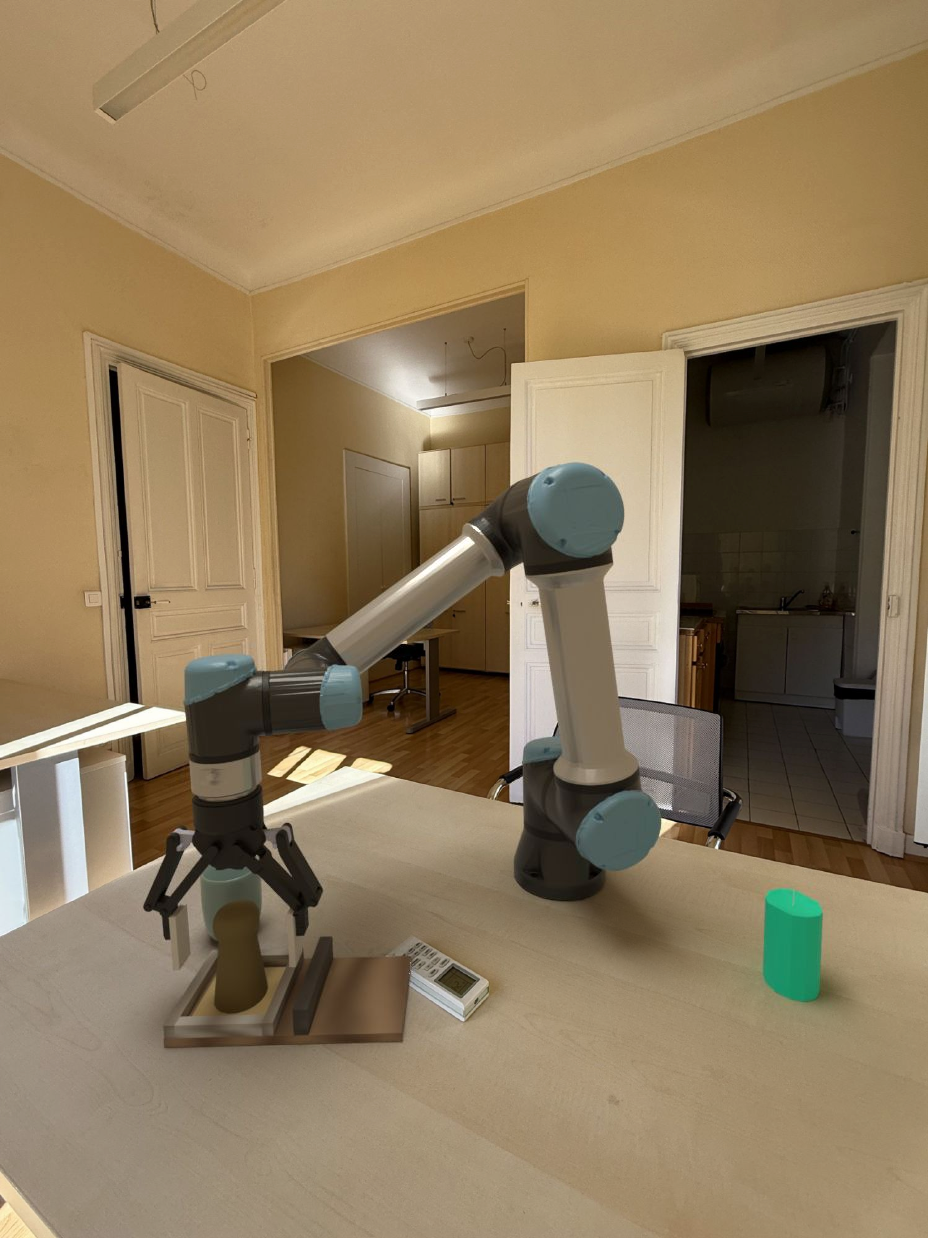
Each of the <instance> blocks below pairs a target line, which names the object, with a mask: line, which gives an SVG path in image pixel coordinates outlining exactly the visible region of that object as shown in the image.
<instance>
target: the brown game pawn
mask: <svg viewBox="0 0 928 1238" xmlns="http://www.w3.org/2000/svg"><path fill="white" fill-rule="evenodd" d="M260 917H261V914H260V913H259V909H258V907H257V906H256V904H255V903H254V902H252V901H250V900H236V901H232V902H230V903H227V904H226V905H224V906H222V907H221V908H220V909H219V910H218V911H217V913H216V915H215V917H214V919H213V933H214V935H215V937H216V939H217V940H218V941H217V942H218V948H217V950H218V957H217V970H216V984H215V997H214V1005H215V1007H216V1009H217V1010H219V1011H220V1012H222V1013H227V1014H234V1013H240V1012H243V1011H246V1010H248V1009H250V1008H252V1007H254V1006H255V1005H256V1004H258V1003H259V1002H260V1001H261V1000H262V999H263V998H264V996H265V995H266V993H267V990H268V983H267V978H266V974H265V969H264V964H263V960H262V955H261V951H260V949H261V947H260V942H259V938H258V933H257V929H258V927H259V925H260V921H261V920H260V919H261V918H260Z"/></svg>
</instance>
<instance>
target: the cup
mask: <svg viewBox="0 0 928 1238" xmlns="http://www.w3.org/2000/svg"><path fill="white" fill-rule="evenodd" d="M255 858H256V859H257V860H259V857H258V855H256V856H255ZM262 881H263V879H262V878H261V877H260V876H259V875H258V874H253V873H252V872H251V871H250V870H249V869H248V868H247V867H244V868H243V870H235V869H230V868H228V869H225V870H216V868H214V867H212V866H210V865H209V866H208V867H207V868H206V869H205V871H204V872H203V873H202V874H201V876H200V877H199V882H200V883H199V885H200V886H199V887H200V896H201V897H200V899H201V908H202V909H201V910H202V916H203V922H204V927H205V928H206V931H207V933H208V934H209V936H210V937H211V938H212V939H213V940H215V941H217V942H219V941H218V940H217V939H216V937H215V935H214V933H213V919H214V917H215V915H216V913H217V911H218V910H219V909H220V908H221V907H222V906H224V905H226V904H227V903H230V902H232V901H236V900H250V901H252V902H254V903H255V904H256V906H257V907H258V909H259V913H260V915H261V913H262V907H263V883H262Z"/></svg>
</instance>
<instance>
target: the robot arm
mask: <svg viewBox="0 0 928 1238" xmlns="http://www.w3.org/2000/svg"><path fill="white" fill-rule="evenodd" d="M624 524H625V505H624V501H623V498H622V495H621V492H620V490H619V488H618V486H617V485H616V483H615V482H614V480H613V479H612V478H611V477H610V476H609V475H607V474H606V473H605V472H603V471H602V470H601V469H600V468H598V467H596V466H594V465H591V464H589V463H586V462H567V463H562V464H557V465H554V466H548V467H546V468H544V469H543V470H542V471H540V472H537V473H536V474H533V475H530V476H529V477H526V478H522V479H520V480H518V481H516V482H515V483H513V484H511V485H510V486H509V487H508V488H506V489H505V490H504V491H502V493H501V494H499V496H497V497H496V498H495V499H494V500H493V501H492V502H490V504H489V505H487V506H486V507H485V508H484V509H483V510H481V511H480V512H479V513H478V514H476V515H475V516H474V517H473V518H472V519H470V520H468V521H467V522H466V523H465V524H463V525H462V530H461V531H462V532H461V535H459V536H458V537H457V538H456V539H455V540H453V541H452V542H450V543H449V544H448V545H446V546H445V547H444V548H442V549H441V550H440V551H438V552H437V553H436V554H434V555H433V556H431V557H430V558H429V559H427V560H425V562H423V563H422V564H421V565H419V566H418V567H416V568H415V569H414V570H412V571H411V572H410V573H408V574H406V575H405V576H403V578H402V579H400V580H399V581H397V582H396V583H394V584H393V585H391V586H390V587H389V588H388V589H386V590H385V591H384V592H382V593H381V594H379V595H378V596H377V597H375V598H373V600H372V601H370V602H369V603H367V604H366V605H365V606H363V607H362V608H360V609H359V610H358V611H356V612H355V613H354V614H352V615H351V616H349V617H348V618H347V619H345V620H344V621H342V623H340V624H339V625H338V626H336V627H335V628H333V629H332V630H331V631H330V632H328V633H326V634H325V635H324V636H323V637H322V638H320V639H319V640H317V641H316V642H314V643H313V644H312V645H310V646H309V647H307V648H305V649H302V650H298V652H296V653H294V655H293V656H291V657H290V658H288V660H287V663H286V664H285V665H284V668H283V669H277V670H257V666H256V664H255V663H256V662H255V660H254V658H253V657H252V656H251V655H249V654H244V653H236V654H231V653H223V654H215V655H207V656H202V657H198V658H195V659H192V660H191V661H190V662H188V663H187V665H186V666H185V667H184V672H183V673H184V678H183V679H184V683H183V684H184V699H183V707H184V714H185V724H186V733H187V734H186V736H187V746H188V758H189V759H188V760H189V761H188V762H189V776H190V789H191V793H192V794H194V795H193V797H192V799H191V804H192V805H191V807H192V819H193V820H192V823H193V827H194V830H190V829H189V830H188V828H187V827H186V826H185V825H179V826H177V828H175V830H174V831H172V832H171V833H170V834H169V835H168V836H167V837H166V842H165V843H166V845H165V855H164V857H163V859H162V862H161V865H160V867H159V868H158V870H157V873H156V875H155V878H154V881H153V883H152V885H151V886H150V889H149V891H148V894H147V896H146V899H145V900H144V902H143V905H142V909H143V910H144V911H145V912H147V913H151V912H152V911H154V912H157V913H159V915H160V916H161V920H162V922H161V923H162V924H161V925H162V932H163V934H162V935H163V938H164V940H165V941H170V948H171V949H170V950H171V951H170V952H171V960H172V961H171V962H172V971H180V970H181V969H182V967H183V966H184V964H185V963H186V962H187V960H188V959H189V957H190V956H191V955H192V954H191V953H192V952H191V942H190V941H191V940H190V928H189V916H188V904H187V903H180V902H181V900H182V899H183V898H184V897H185V896H186V894H187V893H188V892H189V891H190V889H192V887H193V885H194V884H195V883H196V882H197V881H198V879H200V876H201V874H202V873H203V872H204V871H205V869H206V868H207V867H208V866H209V865H210V866H212V867H214V868H216V870H225V869H228V868H230V869H235V870H243V868H244V867H247V868H248V869H249V870H250V871H251V872H252V873H253V874H258V875H259V876H260V877H261V879H262V881H264V883H266V885H268V886H269V887H270V889H271V890H272V891H273V892H274V893H275V894H276V895H277V896H278V897H280V898H281V900H282V901H283V902H284V903H285V904H286V905H287V906H288V907H289V909H288V911H287V913H286V915H285V916H286V927H287V928H286V929H287V933H286V934H287V946H288V950H289V967H296V966H297V963H298V961H299V958H300V956H301V953H302V948H303V937H305V935H306V934H307V933H306V932H307V930H308V928H309V925H310V921H309V920H310V919H309V918H310V917H309V908H316V907H317V906H318V905H319V903H320V899H321V897H322V895H323V892H324V888H323V887H322V885H321V883H320V881H319V879H318V878H317V876H316V874H315V873H314V870H313V869H312V868H311V866H310V863H309V862H308V861H307V859H306V856H304V853H303V851H302V850H301V849H300V846H299V845H298V843H297V841H296V840H295V836H294V830H293V825H292V824H291V823H290V822H284V823H283V824H282V825H281V826H280V827H274V828H273V827H271V828H268V827H267V826H266V824H265V816H264V815H265V810H264V796H263V795H264V793H263V786H262V785H261V784H260V783H261V782H262V779H263V778H262V777H263V773H262V765H261V764H262V763H261V751H260V750H261V749H260V748H261V747H260V745H261V743H260V737H263V736H264V737H265V736H274V735H277V736H278V735H286V734H296V733H306V732H307V733H308V732H319V731H320V732H321V731H333V732H334V731H336V730H339V729H345V728H350V727H355V726H357V725H358V724H359V723H360V722H361V720H362V718H363V690H362V689H363V688H362V680H361V675H362V674H363V673H364V672H365V671H368V669H370V668H371V667H372V666H374V665H375V664H377V663H378V662H379V661H380V660H382V659H383V658H384V657H386V656H387V655H388V654H390V653H391V652H392V651H393V650H395V649H396V648H398V647H399V646H400V645H402V644H403V643H404V642H406V641H407V640H408V639H410V637H412V636H414V635H415V634H417V632H419V630H421V629H422V628H424V627H426V625H428V624H429V623H431V622H432V621H433V620H435V618H437V617H439V616H440V615H441V614H442V613H443V612H445V611H447V610H448V609H450V607H452V606H454V604H456V603H457V602H458V601H460V600H462V599H463V598H464V597H465V596H466V595H468V594H469V593H470V592H472V591H473V590H474V589H475V588H477V587H478V586H480V585H481V584H482V583H484V582H485V581H486V580H487V579H489V578H490V577H499V578H500V577H503V576H505V574H507V572H509V571H510V570H512V569H514V568H515V567H517V566H520V565H521V564H523V569H524V570H523V571H524V576H525V579H527V580H528V581H530V582H531V583H532V584H533V585H535V586H536V587H537V589H538V595H539V602H540V609H541V615H542V622H543V630H544V637H545V644H546V649H547V657H548V663H549V672H550V679H551V684H552V692H553V698H554V699H553V700H554V706H555V711H556V712H555V713H556V720H557V725H558V734H559V736H545V737H540V738H536V739H533V740H530V741H529V742H527V743H525V745H524V747H523V751H522V761H521V765H522V792H523V793H522V797H523V798H522V799H523V800H522V801H523V805H522V806H523V812H522V813H523V829H522V832H521V834H520V838H519V841H518V844H517V847H516V850H515V853H514V856H513V857H514V858H513V876H514V879H515V880H516V882H517V883H518V884H519V885H520V886H521V887H522V888H523V889H524V890H526V891H528V892H529V893H531V894H533V895H536V896H539V897H541V898H546V899H548V900H549V899H550V900H556V901H575V900H581V899H585V898H588V897H590V896H591V897H592V896H593V895H595V894H596V893H598V892H600V890H601V889H602V888H603V887H604V885H605V883H606V871H608V872H619V871H624V870H627V869H630V868H632V867H633V866H636V865H638V864H639V863H640V862H641V861H643V860H644V859H645V858H646V857H647V856H648V855H649V853H650V850H652V848H654V847H655V845H656V844H657V842H658V839H659V837H660V833H661V830H662V815H661V811H660V808H659V806H658V805H657V803H656V802H655V800H654V799H653V798H652V796H651V795H650V794H648V793H646V792H644V791H643V789H642V784H641V783H642V782H641V775H640V774H641V773H640V766H639V760H638V759H637V757H636V756H635V755H634V754H633V753H631V752H630V751H629V750H627V749H626V747H625V740H624V738H625V737H624V731H623V724H622V717H621V709H620V700H619V693H618V684H617V677H616V668H615V660H614V654H613V653H614V652H613V645H612V644H613V643H612V636H611V630H610V629H611V628H610V621H609V620H610V619H609V614H608V605H607V598H606V590H605V583H604V582H605V577H606V575H607V573H609V571H610V569H611V568H612V567H613V566H614V558H613V548H612V546H613V545H614V544H615V543H616V541H617V539H618V536H619V534H620V533H621V532H622V530H623V527H624ZM266 841H267V842H270V843H271V845H272V848H273V849H275V850H276V849H277V853H278V855H279V857H280V859H281V861H282V862H283V864H284V866H285V868H286V869H287V870H286V869H285V868H284V867H283V866H282V865H281V864H280V863H279V862H278V861H277V859H275V858H274V857H273V853H272V851H270V849H269V848H268V847H267V846H266V845H265V843H266ZM191 844H192V846H193V847H194V848H195V849H196V850H197V852H198V853H199V854H200V855H201V857H200V858H199V859H198V860H197V861H196V863H194V865H193V867H192V868H191V869H190V870H189V872H188V873H187V874H186V875H185V877H183V879H182V881H181V882H180V883H179V885H178V886H177V887H176V888H175V889H174V891H173V892H172V893H171V894H170V895H168V894H166V893H167V891H168V890H169V887H170V884H171V883H172V880H173V878H174V875H175V873H176V872H177V869H178V866H179V864H180V862H181V860H182V858H183V855H184V853H185V851H186V849H188V848H189V846H190V845H191ZM255 856H257V857H258V858H259V860H257V859H256V858H255Z"/></svg>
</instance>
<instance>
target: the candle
mask: <svg viewBox="0 0 928 1238" xmlns="http://www.w3.org/2000/svg"><path fill="white" fill-rule="evenodd" d="M764 897H765V898H764V922H763V923H764V925H763V951H762V953H763V956H762V957H763V959H762V975H763V979H764V982H765V984H767V986H768V987H770V988H771V989H772V990H773V991H774V992H775V993H777V994H779V995H781V996H782V997H784V998H786V999H789V1000H793V1001H797V1002H798V1001H799V1002H802V1003H805V1002H810V1001H815V1000H816V999H817V998H818V995H819V994H820V991H821V990H820V989H821V968H822V967H821V966H822V964H821V963H822V940H823V916H824V912H823V910H822V907H821V904H820V902H819V901H817V900H815V899H813V898H811V897H809V896H808V895H805V894H804V893H802V892H800V891H798V890H796V889H794V888H783V887H782V888H781V887H780V888H774V889H770V890H769V891H768V892H767V894H765V896H764Z"/></svg>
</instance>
